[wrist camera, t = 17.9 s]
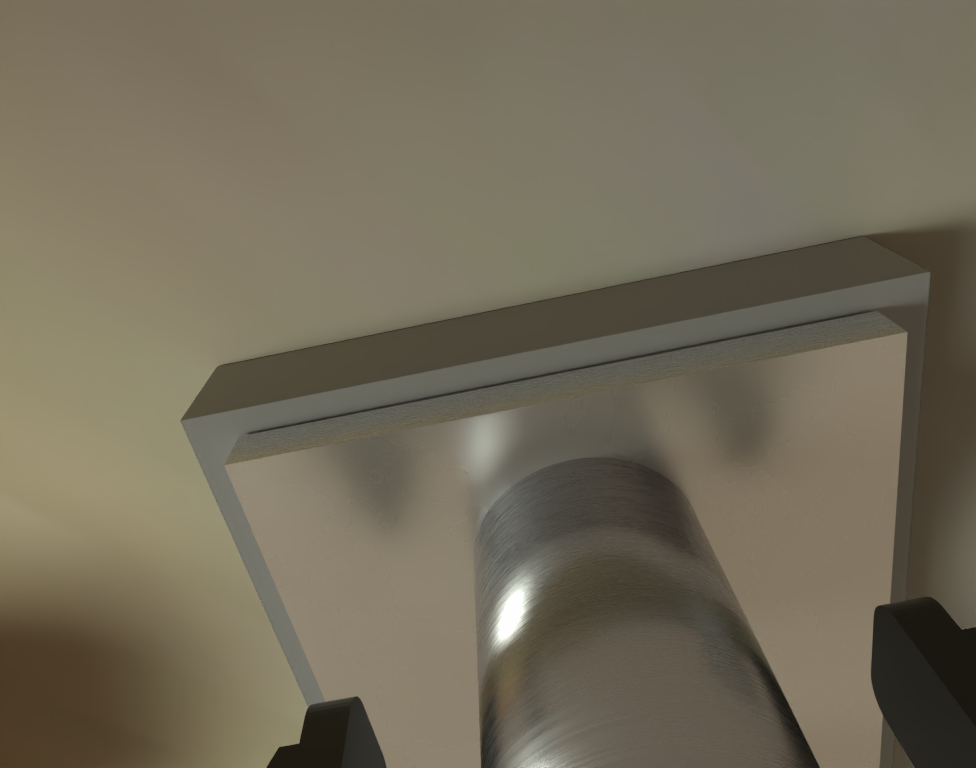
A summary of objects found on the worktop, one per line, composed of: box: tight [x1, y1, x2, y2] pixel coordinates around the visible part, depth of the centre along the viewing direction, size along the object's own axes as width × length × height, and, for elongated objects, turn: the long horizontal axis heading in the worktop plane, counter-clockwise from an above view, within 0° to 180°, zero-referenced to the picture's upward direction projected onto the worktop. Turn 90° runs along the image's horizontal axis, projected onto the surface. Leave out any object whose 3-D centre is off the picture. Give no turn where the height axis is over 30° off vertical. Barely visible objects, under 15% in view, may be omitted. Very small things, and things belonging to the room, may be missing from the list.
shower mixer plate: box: [224, 311, 908, 768], centre depth 16 cm, size 14×12×1 cm
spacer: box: [474, 458, 820, 768], centre depth 12 cm, size 4×4×6 cm
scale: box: [180, 236, 931, 768], centre depth 19 cm, size 21×14×3 cm, turn 11°
